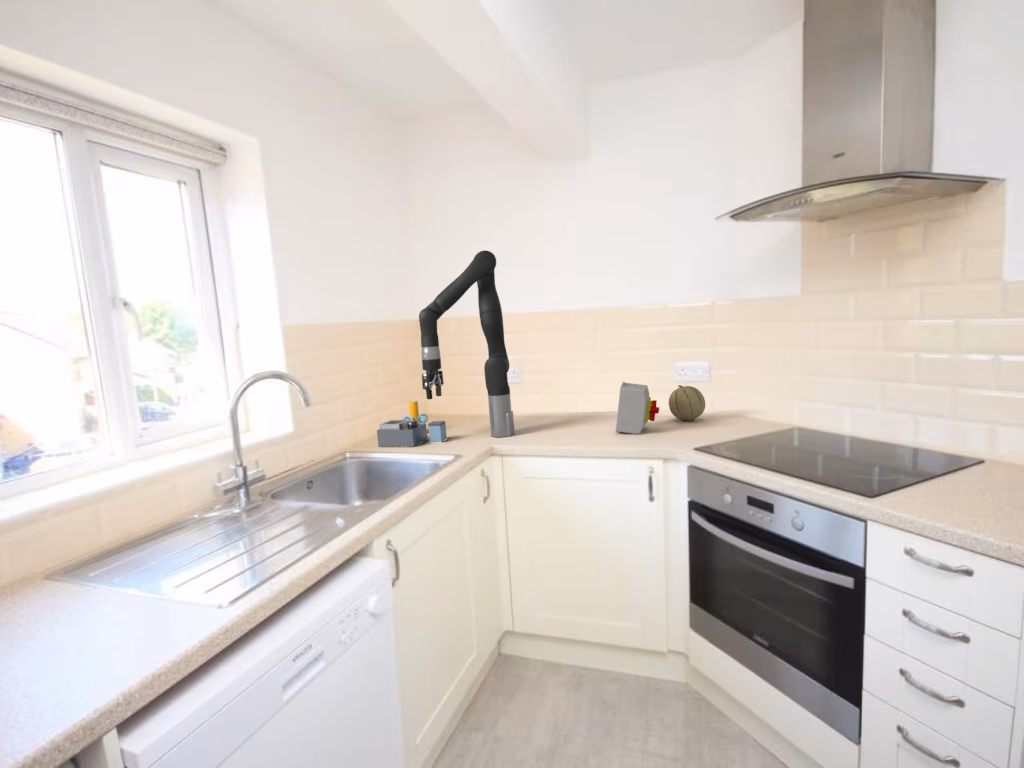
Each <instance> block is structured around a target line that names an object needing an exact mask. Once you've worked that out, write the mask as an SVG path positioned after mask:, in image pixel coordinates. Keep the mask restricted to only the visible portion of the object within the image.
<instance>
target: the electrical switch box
mask: <svg viewBox="0 0 1024 768" xmlns="http://www.w3.org/2000/svg"><path fill="white" fill-rule="evenodd" d="M651 399H652V397H651V396H650V392H649V387H648V385H646V384H639V383H633V382H632V383H630V382H625V381H622V383H621V385H620V389H619V398H618V405H617V406H618V407H617V417H616V425H615V432H618V433H624V434H633V435H641V433H642V432H643V430H644V427H645V425H647V424H648V421H650V422H655V420H656V414H657V415H658V414H659V413H660V407H659V406H657V402H658V401H657V399H653V400H651Z"/></svg>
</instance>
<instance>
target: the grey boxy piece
mask: <svg viewBox="0 0 1024 768" xmlns="http://www.w3.org/2000/svg"><path fill="white" fill-rule="evenodd" d="M376 436H377V444H378V448H396V447H395V446H400V447H399V448H402V447H401V446H404V447H403V448H415V447H416V445H417V446H419V445H421V444H422V443H421V442H423V441H425V440H427V441H428V431H427V423H425V424H417V421H410V420H409V419H407V420H405V419H404V420H402V419H390V420H388V421H385V422H383V423H380V424H379V428H378V429H376ZM425 442H426V441H425ZM420 443H421V444H420ZM423 443H424V442H423ZM418 444H419V445H418ZM391 446H392V447H391ZM405 446H407V447H405ZM408 446H410V447H408ZM414 446H415V447H414Z"/></svg>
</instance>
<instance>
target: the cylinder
mask: <svg viewBox="0 0 1024 768" xmlns="http://www.w3.org/2000/svg"><path fill="white" fill-rule="evenodd" d="M418 402H419V401H418V400H409V401H408V410H409V411H408V412H409V414H407V415H405V416H404V417H402V419H401V420H410V421H417V424H427V422H428V421H429V418H428V415H427V414H426V413H422V414H420V413H419V412H420V411H419V410H420V409H419V403H418ZM422 420H423V421H422Z"/></svg>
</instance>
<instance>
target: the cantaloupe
mask: <svg viewBox="0 0 1024 768" xmlns="http://www.w3.org/2000/svg"><path fill="white" fill-rule="evenodd" d="M668 407H669V410H670V412H671V414H672V415H673V417H675V418H677V419H678V420H681V421H688V422H690V421H693V420H695V419H697V418H699V417H700V416H701V415H702V414H703V413H704V412H705V409H706V399H705V397H704V395H703V393H702V392H701V391H700V390H699V389H698V388H696V387H694V386H689V385H687V386H684V385H678V388H676V389H674V390H673V391H672V392H671V394H670V395H669V398H668Z"/></svg>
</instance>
